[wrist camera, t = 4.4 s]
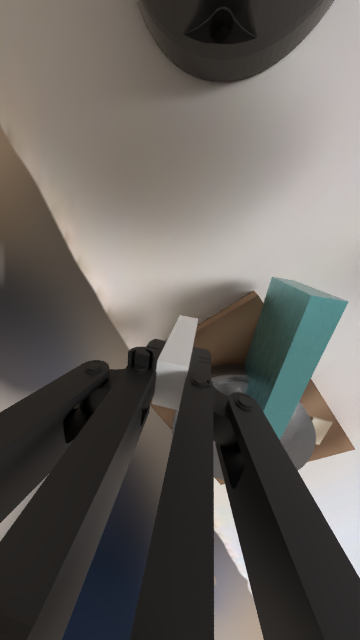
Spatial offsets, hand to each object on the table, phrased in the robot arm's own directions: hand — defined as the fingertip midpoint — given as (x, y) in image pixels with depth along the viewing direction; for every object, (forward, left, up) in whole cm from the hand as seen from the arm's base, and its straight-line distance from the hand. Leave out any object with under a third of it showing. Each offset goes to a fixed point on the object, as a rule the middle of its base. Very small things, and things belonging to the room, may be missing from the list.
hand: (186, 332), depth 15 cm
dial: (+10, 0, -4) cm, 10 cm away
